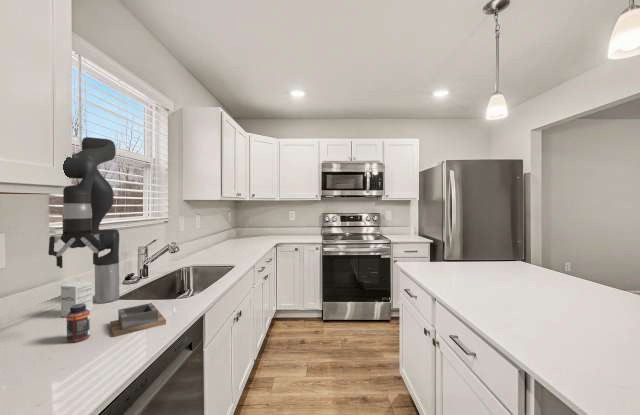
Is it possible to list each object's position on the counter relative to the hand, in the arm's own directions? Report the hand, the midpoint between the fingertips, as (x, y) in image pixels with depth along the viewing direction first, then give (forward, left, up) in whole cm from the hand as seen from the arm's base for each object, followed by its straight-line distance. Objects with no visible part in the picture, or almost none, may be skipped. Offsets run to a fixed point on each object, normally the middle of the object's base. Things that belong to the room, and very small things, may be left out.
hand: (78, 265), depth 96 cm
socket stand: (0, +17, -25) cm, 30 cm away
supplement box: (-29, 0, -25) cm, 38 cm away
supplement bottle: (0, 0, -25) cm, 25 cm away
